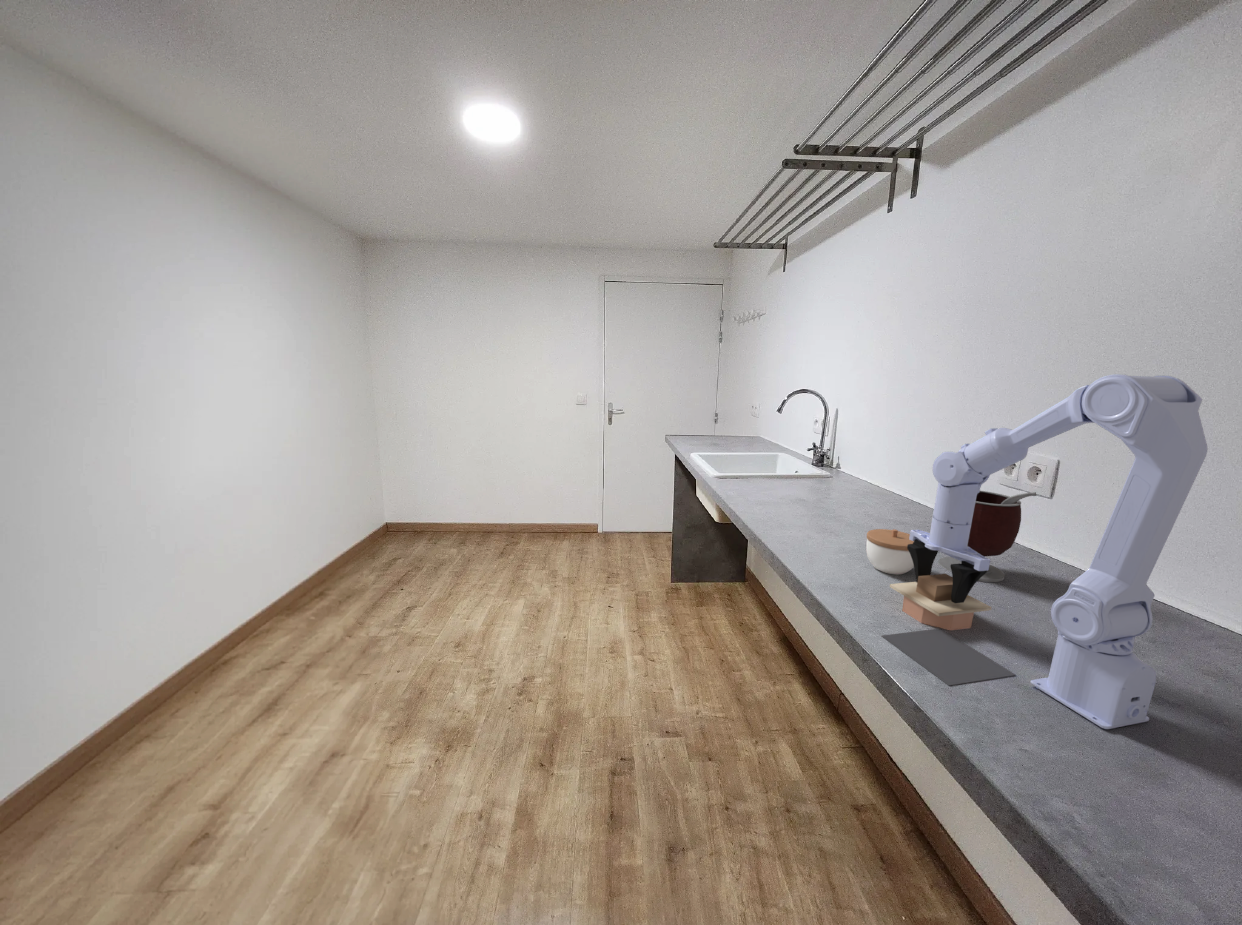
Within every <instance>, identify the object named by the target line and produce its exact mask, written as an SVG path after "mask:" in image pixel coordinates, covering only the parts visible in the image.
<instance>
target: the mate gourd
mask: <svg viewBox="0 0 1242 925" xmlns="http://www.w3.org/2000/svg"><path fill="white" fill-rule="evenodd" d="M1029 497H1037V492H1035V491H1032V492H1024V493H1019V494H1015V495H1011V496H1009V495H1006V494H1003V493H997V492H994V491H993V492H992V491H988V490H987V491H986V490H980V492H979V493H978V494H977V497H976V502H975V507H974V512H973V518H972V524H971V529H970V534H969V539H968V545H967V546H968V547H970V548H971V549H973V550H974V551H976V552H978V553H979V554H981V555H982V556H984V557H995V556H1000V555H1003V554H1004V553H1005V552H1006V551H1008V550H1010V549H1011V548H1012V547H1013V545H1014V543H1015V542H1016V539H1017V537H1018V534H1019V532H1020V528H1021V523H1022V505H1021V504H1022V501H1020V500H1022V499H1024V498H1025V499H1026V498H1029ZM951 564H961V561H959V560H957V559H955V558H953V557H950V556H945V557H940V558H939V559H938V562H937V565H938V566H940V567H941V568H943V569H945V571H948V572H950V573H952V571H951V567H950V566H951ZM1005 576H1006V574H1005V573H1004V571H1003V570H1001V569H1000V568H999V567H996V566H994V565H992V564H990V565H989V570H987V573H985V574H984V575H983V576H982V577H981V578H980V579H979V580H978V581H977V582H983V583H999V582H1003V581H1005V580H1004V579H1005Z"/></svg>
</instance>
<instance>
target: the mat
mask: <svg viewBox="0 0 1242 925" xmlns="http://www.w3.org/2000/svg"><path fill="white" fill-rule="evenodd" d="M881 637H882V638H883V639H885V640H886V641H887V642H888V643H890V644H891V645H893V646H894V647H895V648H896V649H898V650H899V651H900V652H902V653H903V654H905V656H907V657H908V658H910V659H911V660H913V661H914V662H916V663H917V664H918V665H919V666H921V667H922V668H924V669H925V670H927V672H929V673H930V674H932V675H933V676H934V677H935V678H937V679H938V680H940V682H942V683H944V684H945V685H947V686H948V687H952V686H958V685H965V684H971V683H978V682H984V681H990V680H998V679H1004V678H1011V677H1016V676H1017V674H1016V673H1013V672H1012V671H1010V670H1009V669H1007V668H1006V667H1004V666H1002V664H999V663H997V662H996V661H994V660H993V659H991V658H989V657H988V656H986V655H984V654H983V653H981V652H980V651H978V650H976V649H975V648H973V647H971V646H970V645H969V644H967V643H965V642H964V641H962V640H961V639H958V638H957V637H956V636H954V635H952V634H951V633H949V632H948V631H946V630H945V629H943V628H939V627H938V628H931V629H926V630H916V631H909V632H901V633H890V634H884V635H881Z"/></svg>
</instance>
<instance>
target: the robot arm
mask: <svg viewBox="0 0 1242 925" xmlns="http://www.w3.org/2000/svg"><path fill="white" fill-rule="evenodd" d="M1202 402H1203V398H1202V397H1201V396H1200V395H1199V394H1198V393H1197V392H1196V391H1195V390H1193V388H1191V387H1190V386H1189V385H1188V384H1187V383H1186V382H1185V381H1183V380H1182V379H1180V378H1177V377H1175V376H1171V375H1154V376H1153V375H1152V376H1150V375H1149V376H1148V375H1144V376H1143V375H1142V376H1141V375H1128V374H1121V373H1118V374H1116V373H1113V374H1108V375H1104V376H1101V377H1099V378H1097V379H1095V380H1094V381H1093V382H1091V383H1090V384H1086V385H1083V386H1081V387H1079V388H1078V387H1077V389H1075V390H1074V391H1073V392H1072V393H1070V395H1069V396H1067V397H1065V398H1064V399H1062V400H1060V401H1059V402H1057V403H1055V404H1054V405H1052V406H1050V407H1048V408H1047V409H1045V410H1044V411H1041V412H1040V413H1039V414H1036V415H1035V416H1034V417H1032V418H1030V419H1028V420H1026V421H1025V422H1023V423H1022V424H1020V425H1018V426H1017V427H1015V428H1014V429H1011V428H1007V427H999V428H998V427H993V428H989V429H987V430H985V431H984V434H985V435H984V436H983V437H980V438H979V439H977V440H974V441H973V442H972V443H965V444H962V445H961V446H960V449H959V450H958V451H957V452H955V451H951V450H950V451H943V452H942V453H940V455H938V456H937V457H936V458H935V460H934V461H933V464H932V475H933V477H934V478H935V480H936V481H937V487H936V488H937V490H936V494H935V502H934V505H933V512H932V517H931V518H932V519H931V524H930V531H929V532H928V531H924V530H922V529H911V530H910V532H909V534H910V537H909V540H911V541H914V542H913V544H908V546H907V549H908V551H909V553H910V555H911V558H912V561H913V564H914V567H913V569H914V574H915V575H914V577H915V582H918V576H926V575H932V574H931V573H932V568H933V565H934V563H935V562H934V561H935V559H936V557H937V555H938V553H941V554H944V555H946V556H947V557H953V558H955V559H957V560H959V561H961V564H951V566H950V567H951V571H952V572H951V575H952V576H951V577H953V586H952V593H951V601H952V602H953V603H963V602H964V601H965V599H966V597H967V595H969V593H970V592H971V590H972V588H973V587H974V586H975V585H976V583H977V582H979V581H978V580H979V579H980V578H981V577H982V576H983V575H984V574H985V573H987V570H989V565H991V559H990V558H988V557H987V556H985V557H984V556H982V555H981V554H979V553H978V552H976V551H974V550H973V549H971V548H970V547H968V546H967V545H968V539H969V534H970V529H971V524H972V518H973V512H974V507H975V502H976V497H977V494H978V493H979V492H980V491H981V488H982V486H983V484H985V483H986V482H987V481H988V480H989V478H990V476H991V475H993V474H995V473H997V472H999V471H1002V470H1003V469H1006V468H1008V467H1009V466H1012V465H1015V464H1017V463H1018V462H1020V461H1023V460H1024V459H1026V457H1027V455H1028V451H1029V449H1030V448H1031V447H1033V446H1036V445H1038V444H1040V443H1042V442H1045V441H1047V440H1050V439H1052V438H1054V437H1056V436H1059V435H1062V434H1064V433H1066V432H1068V431H1070V430H1073V429H1076V428H1078V427H1080V426H1083V425H1085V424H1096V425H1097V426H1099V427H1101V428H1103V429H1104V430H1105V431H1107V432H1109V433H1111V435H1114V436H1115V437H1117V438H1119V439H1120V440H1121V442H1122V443H1123V444H1125V446H1126V447H1127V448H1128V449H1129V450H1130V452H1132V454H1133V455H1134V461H1133V463H1132V466H1131V468H1130V470H1129V473H1128V475H1127V477H1126V480H1125V482H1124V485H1123V487H1122V489H1121V492H1120V494H1119V496H1118V499H1117V501H1116V503H1115V505H1114V508H1113V510H1112V513H1111V515H1110V517H1109V520H1108V521H1107V522H1108V523H1107V525H1106V528H1105V529H1104V532H1103V534H1102V537H1101V538H1100V541H1099V544H1098V546H1097V549H1096V551H1095V553H1094V556H1093V558H1092V560H1091V563H1090V565H1089V567H1088V569H1087V570H1085V571H1084V572H1083V573H1082V574H1081V575H1079V576H1078V577H1076V578H1075V579H1074V580H1073V581H1072V582H1071V583H1070V584H1069V586H1068V589H1067V591H1066V592H1065V593H1064V594H1063V595H1061V596H1060V597H1058V598H1057V599H1055V601H1054V602H1053V603H1052V605H1051V609H1050V615H1051V621H1052V623H1053V625H1054V626H1055V628H1056V629H1057V638H1056V643H1055V647H1054V651H1053V656H1052V660H1051V665H1050V669H1049V674H1048V677H1042V678H1035V679H1031V680H1030V684H1031V685H1034V686H1035V688H1036V689H1038V690H1040V691H1042V692H1043V693H1045V694H1046V695H1048V696H1050V697H1051V698H1053V699H1055V700H1056V701H1058V702H1059V703H1061V704H1063V705H1064V706H1065V707H1067V708H1070V709H1071V710H1072V711H1074V712H1076V713H1077V714H1078V715H1081V716H1082V717H1084V718H1085V719H1087V720H1089V721H1090V722H1092V723H1093V724H1094V725H1096V726H1098V727H1100V728H1102V729H1104V730H1110V729H1111V730H1112V729H1116V728H1119V727H1125V726H1130V725H1136V724H1141V723H1146V722H1149V720H1150V717H1149V716H1148V711H1149V708H1150V703H1151V701H1152V697H1153V694H1154V689H1155V688H1156V687H1155V686H1156V682H1157V673H1156V669H1155V668H1154V667H1153V666H1151V665H1150V664H1148V663H1146V662H1145V661H1143V660H1142V659H1140V658H1139V657H1138V656H1137V655H1136V654H1135V653H1134V652H1133V651H1134V644H1135V640H1136V637H1140V636H1142V635H1144V634H1146V633H1148V631H1150V629H1151V628H1152V625H1153V618H1154V617H1153V614H1152V603H1153V600H1154V598H1155V593H1154V591H1153V590H1152V589H1151V588H1150V587H1149V586H1148V584H1147V583H1148V581H1149V579H1150V577H1151V575H1152V572H1153V570H1154V568H1155V566H1156V564H1157V563H1158V560H1159V557H1160V555H1161V554H1162V551H1163V549H1164V547H1165V545H1166V542H1167V541H1168V539H1169V538H1168V537H1169V536H1170V534H1171V532H1172V530H1173V527H1174V525H1175V523H1176V521H1177V519H1178V517H1179V514H1180V513H1181V510H1182V509H1183V506H1184V505H1185V502H1186V499H1187V497H1188V495H1189V493H1190V491H1191V490H1192V487H1193V485H1194V482H1195V481H1196V479H1197V476H1198V474H1199V472H1200V469H1201V467H1202V466H1203V464H1204V462H1205V459H1206V457H1207V453H1208V449H1209V448H1208V443H1207V439H1206V435H1205V432H1204V429H1203V424H1202V420H1201V416H1200V412H1199V410H1200V408H1201V404H1202Z"/></svg>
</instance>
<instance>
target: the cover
mask: <svg viewBox="0 0 1242 925" xmlns="http://www.w3.org/2000/svg"><path fill="white" fill-rule="evenodd" d="M952 586H953V577H952V576H950V575H949V574H947V573H940V574H930V575H926V576H918V582H916V581H909V582H899V583H897V582H896V583H889V588H891V589H892V590H894V591H895V592H897V593H898V594H900V595H902V596H903V597H904V596H905V597H907V598H909V599H911V600H912V601H914V602H916V603H917V604H919V605H921V606H922V607H924V608H926V609H927V610H929V611H931V612H932V613H934V614H936V615H937V616H946V615H955V614H964V613H972V612H974V613H980V612H989V611H990V612H991V611H992V609H993V608H992V606H990V605H988V604H986V603H984V602H982V601H981V600H979V599H977V598H975V597H973V596H971V595H969V594H968V595H967V597H966V599H965V601H964V602H963V603H953V602H952V601H951V593H952Z"/></svg>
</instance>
